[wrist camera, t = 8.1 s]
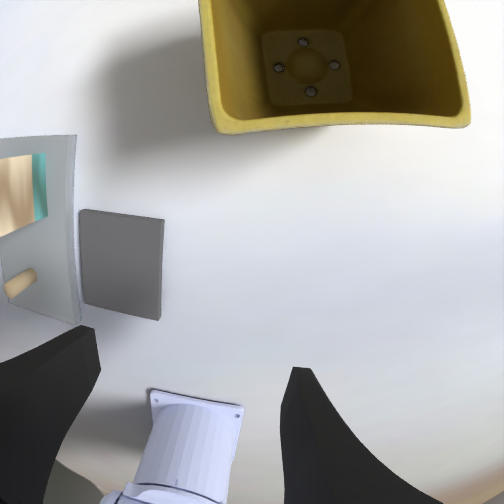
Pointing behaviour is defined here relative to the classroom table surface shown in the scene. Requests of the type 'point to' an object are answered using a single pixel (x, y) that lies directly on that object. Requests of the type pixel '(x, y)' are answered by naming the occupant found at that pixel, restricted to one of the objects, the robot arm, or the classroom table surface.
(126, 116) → the classroom table surface
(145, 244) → the pad
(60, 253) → the pin board
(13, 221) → the sleeve
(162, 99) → the classroom table surface
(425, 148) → the classroom table surface
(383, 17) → the flower pot
